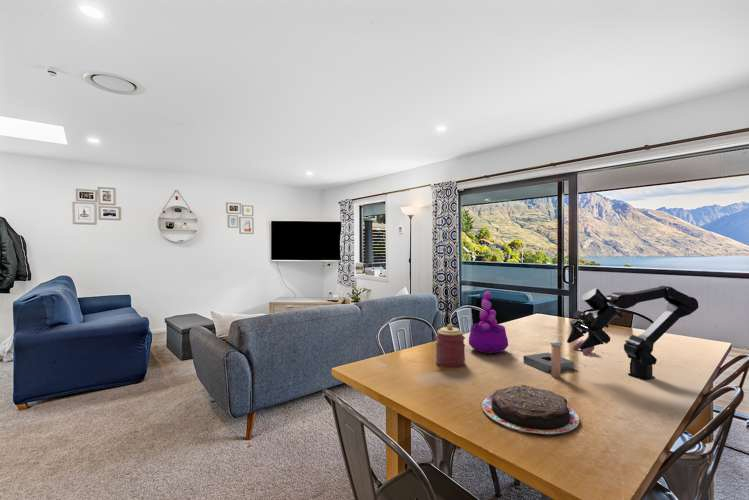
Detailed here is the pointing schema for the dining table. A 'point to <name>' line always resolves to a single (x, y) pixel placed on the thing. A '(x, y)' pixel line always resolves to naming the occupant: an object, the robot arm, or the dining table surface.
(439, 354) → the canister
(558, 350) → the pin
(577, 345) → the mauve curved piece
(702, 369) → the dining table surface
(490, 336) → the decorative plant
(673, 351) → the dining table surface
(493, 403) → the chocolate cake
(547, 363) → the dark grey square base
